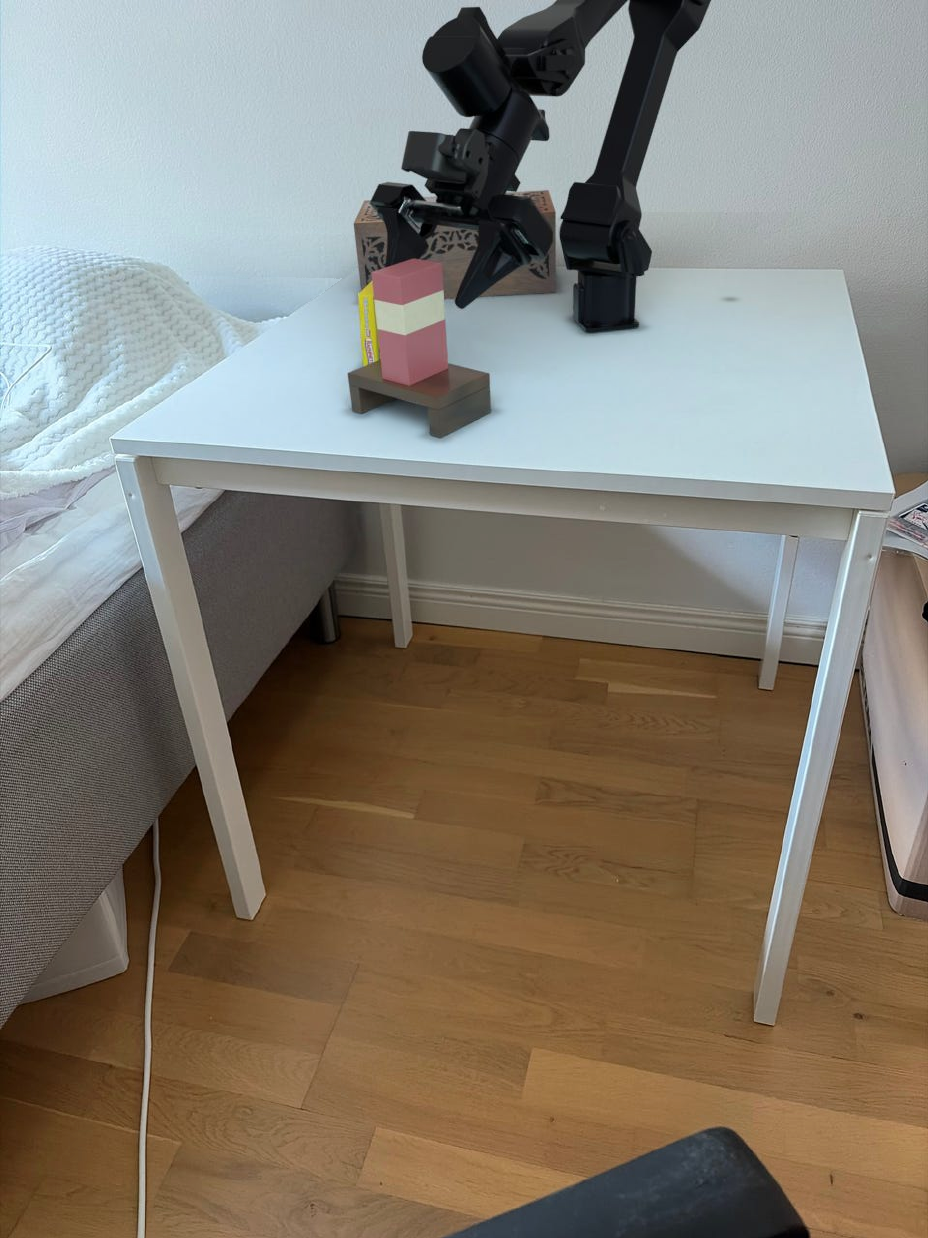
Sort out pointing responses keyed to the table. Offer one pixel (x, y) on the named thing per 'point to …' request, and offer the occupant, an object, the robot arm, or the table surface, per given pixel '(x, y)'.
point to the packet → (410, 320)
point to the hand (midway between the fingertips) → (421, 298)
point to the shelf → (427, 395)
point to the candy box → (368, 325)
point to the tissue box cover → (457, 252)
